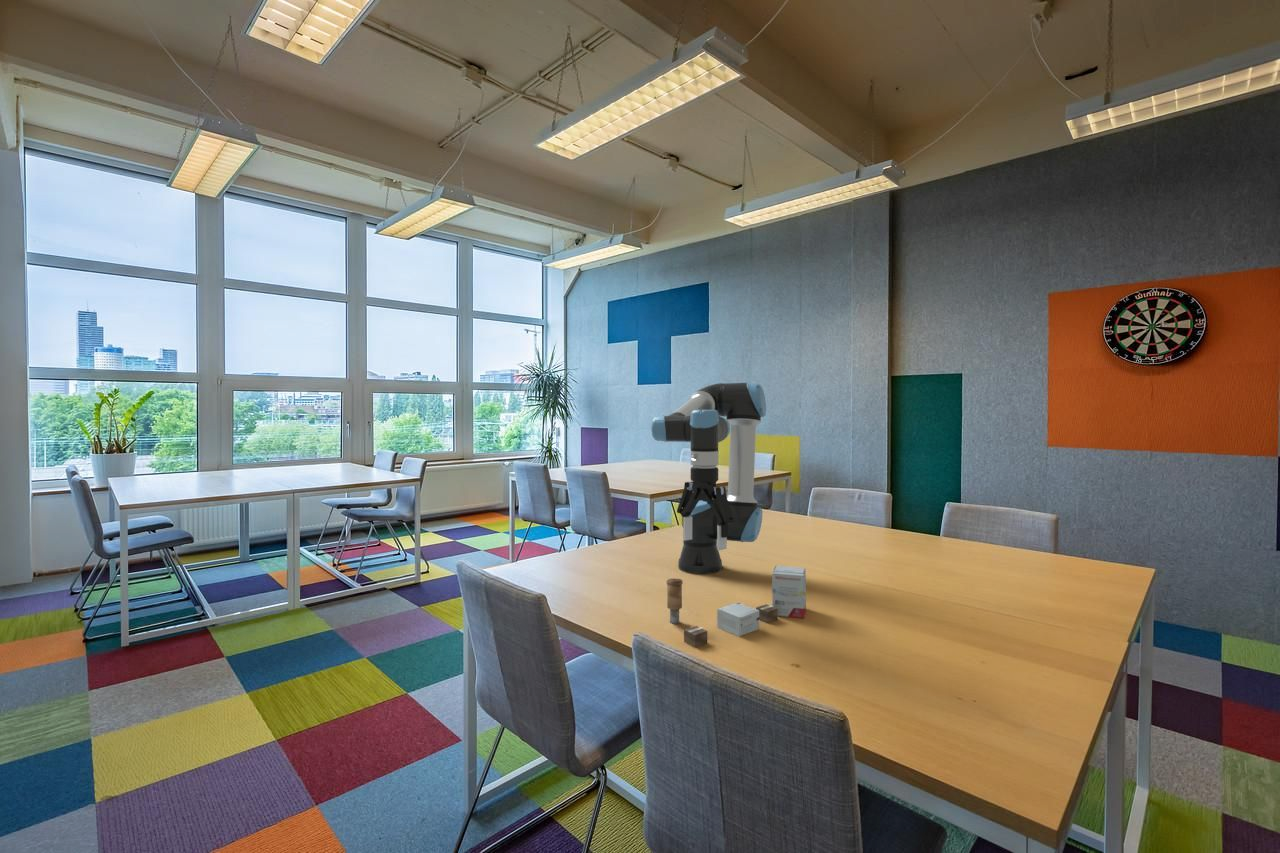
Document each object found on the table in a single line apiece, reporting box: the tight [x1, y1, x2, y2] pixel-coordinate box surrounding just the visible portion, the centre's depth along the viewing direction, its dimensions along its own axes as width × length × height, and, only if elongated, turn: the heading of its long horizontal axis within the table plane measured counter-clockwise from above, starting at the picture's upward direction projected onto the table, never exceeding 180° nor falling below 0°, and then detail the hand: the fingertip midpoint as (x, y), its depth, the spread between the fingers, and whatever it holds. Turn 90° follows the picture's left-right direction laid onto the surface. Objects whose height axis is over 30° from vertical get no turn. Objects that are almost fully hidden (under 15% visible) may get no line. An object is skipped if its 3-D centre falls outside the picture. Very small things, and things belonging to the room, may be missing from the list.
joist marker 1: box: [683, 625, 708, 648], centre depth 140 cm, size 4×4×3 cm
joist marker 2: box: [755, 604, 779, 624], centre depth 154 cm, size 4×4×3 cm
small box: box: [716, 602, 760, 637], centre depth 148 cm, size 8×8×5 cm
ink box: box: [771, 564, 807, 619], centre depth 159 cm, size 9×9×12 cm
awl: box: [666, 577, 683, 625], centre depth 152 cm, size 4×4×11 cm
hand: (704, 544), depth 157 cm, fingers open, 13 cm apart
